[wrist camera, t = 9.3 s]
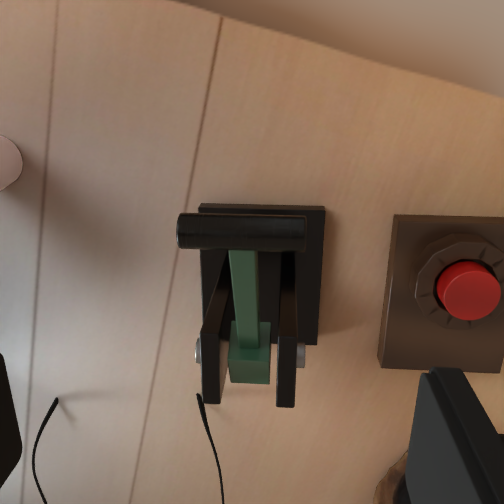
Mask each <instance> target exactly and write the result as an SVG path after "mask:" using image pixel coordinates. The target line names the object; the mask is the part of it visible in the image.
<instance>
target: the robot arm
mask: <svg viewBox="0 0 504 504" xmlns="http://www.w3.org/2000/svg"><path fill="white" fill-rule="evenodd" d="M21 454H22V441H21V436H20V432H19V427H18V422H17V418H16V413H15V408H14V404H13V399H12V394H11V390H10V385H9V380H8V376H7V371H6V366H5V362H4V358H3V355H2V354H1V353H0V488H1V487H2V485H3V484H4V482H5V481H6V480H7V478H8V477H9V475H10V474H11V472H12V471H13V469H14V468H15V466H16V465H17V463H18V462H19V460H20V457H21ZM405 478H406V485H407V489H408V493H409V496H410V500H411V504H504V434H498V433H497V431H496V429H495V427H494V426H493V424H492V422H491V420H490V419H489V417H488V415H487V413H486V412H485V410H484V408H483V406H482V405H481V403H480V401H479V399H478V398H477V396H476V394H475V392H474V391H473V389H472V387H471V385H470V384H469V382H468V380H467V378H466V377H465V375H464V373H463V371H462V370H461V369H460V368H452V367H431V368H430V370H429V373H422V374H421V376H420V381H419V387H418V394H417V400H416V406H415V412H414V419H413V425H412V431H411V437H410V443H409V450H408V456H407V462H406V469H405Z"/></svg>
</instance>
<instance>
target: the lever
mask: <svg viewBox="0 0 504 504" xmlns="http://www.w3.org/2000/svg"><path fill="white" fill-rule="evenodd" d="M306 231H307V221H306V217H305V216H293V215H253V214H213V213H180V214H179V217H178V220H177V227H176V237H177V243H178V246H179V248H181V249H204V250H229V260H230V269H231V278H232V288H233V297H234V306H235V315H236V321H231V329H230V339H229V348H228V357H227V361H228V368H229V374H230V381H231V383H250V384H270V362H271V322H260V307H259V278H258V251H270V252H305V249H306Z"/></svg>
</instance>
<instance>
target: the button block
mask: <svg viewBox="0 0 504 504" xmlns="http://www.w3.org/2000/svg"><path fill="white" fill-rule="evenodd" d="M463 261H471V262H476V263H479V264H480V265H482V266H484V267H485V268H486V269H487V270H488V271H489V272H490V273H491V274H492V275H493V276H494V277H495V278H496V280H497V281H498V283H499V285H500V288H501V297H500V300H499V303H498V305H497V306H496V307H495V309H494V310H493V311H492V312H491V313H489V314H488V315H486V316H484V317H482V318H480V319H476V320H462V319H459V318H456V317H454V316H453V315H451V314H450V313H449V312H448V311H447V309H446V308H445V306H444V305H443V303H442V302H441V300H440V298H439V297H438V294H437V282H438V279H439V277H440V275H441V274H442V273H443V271H444V270H445V269H447V268H448V267H449V266H451V265H453V264H455V263H458V262H463ZM377 356H378V360H379V363H380V366H381V368H389V369H411V370H430V368H431V367H452V368H460V369H461V370H462V371H463V372H477V373H500V370H501V366H502V361H503V357H504V217H473V216H433V215H394V218H393V227H392V235H391V244H390V252H389V261H388V270H387V278H386V287H385V295H384V304H383V312H382V321H381V329H380V338H379V347H378V355H377Z"/></svg>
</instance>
